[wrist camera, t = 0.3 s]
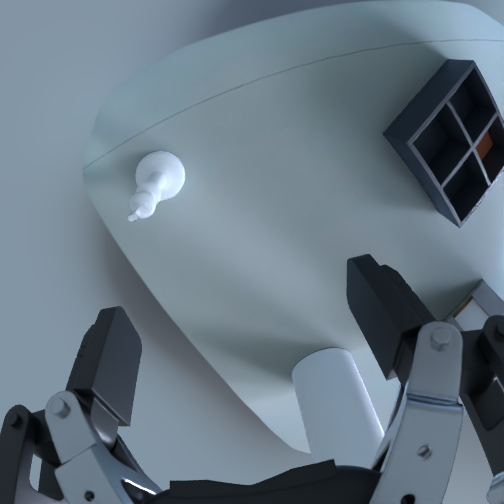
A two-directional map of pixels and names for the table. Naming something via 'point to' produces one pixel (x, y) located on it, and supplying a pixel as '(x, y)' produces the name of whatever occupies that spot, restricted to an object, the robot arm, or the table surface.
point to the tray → (452, 139)
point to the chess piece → (155, 182)
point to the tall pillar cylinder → (336, 409)
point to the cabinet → (477, 310)
